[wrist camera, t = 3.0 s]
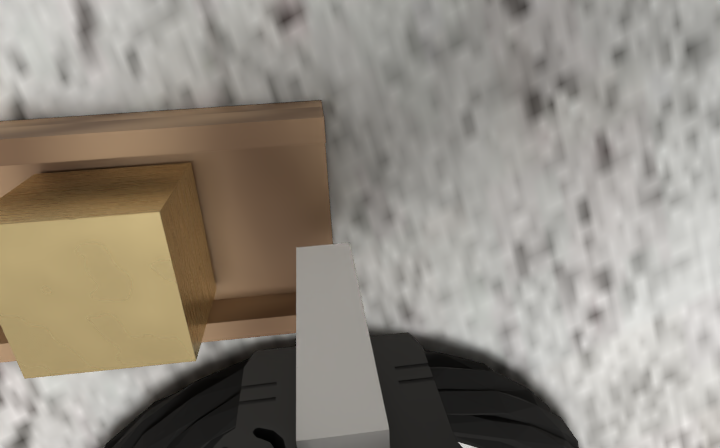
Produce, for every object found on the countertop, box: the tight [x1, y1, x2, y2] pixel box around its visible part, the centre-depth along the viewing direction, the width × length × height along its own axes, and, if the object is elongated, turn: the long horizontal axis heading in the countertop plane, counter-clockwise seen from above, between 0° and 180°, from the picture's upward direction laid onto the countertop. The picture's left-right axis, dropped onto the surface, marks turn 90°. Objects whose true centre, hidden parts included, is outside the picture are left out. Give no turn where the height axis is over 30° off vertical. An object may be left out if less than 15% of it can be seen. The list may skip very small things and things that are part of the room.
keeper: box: [0, 163, 217, 378], centre depth 15 cm, size 5×5×4 cm
